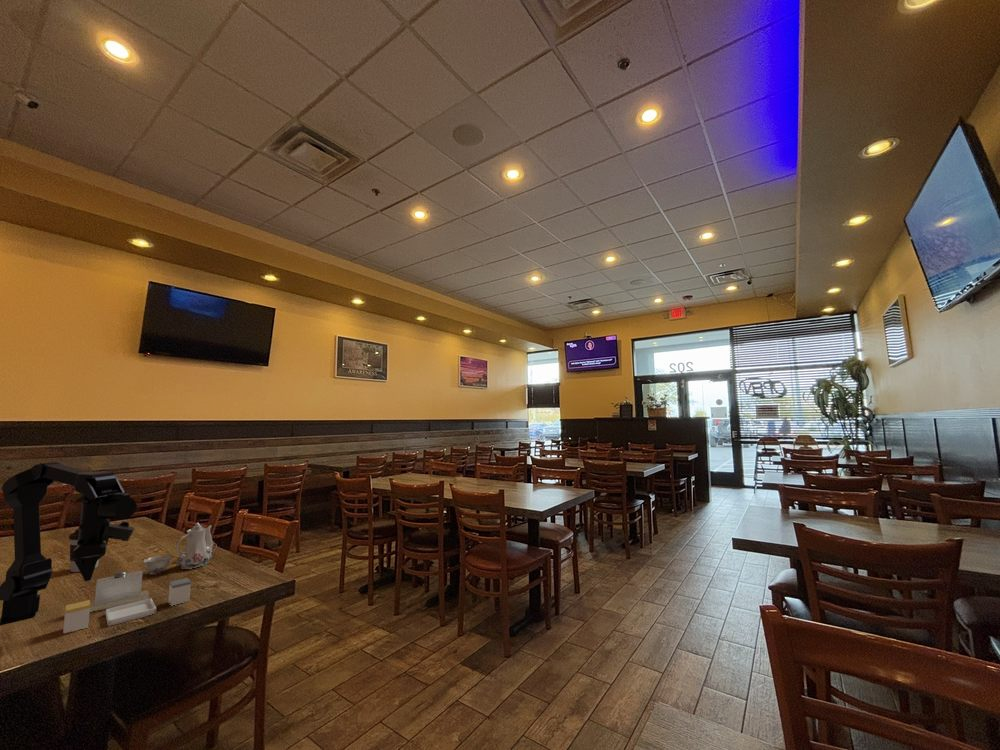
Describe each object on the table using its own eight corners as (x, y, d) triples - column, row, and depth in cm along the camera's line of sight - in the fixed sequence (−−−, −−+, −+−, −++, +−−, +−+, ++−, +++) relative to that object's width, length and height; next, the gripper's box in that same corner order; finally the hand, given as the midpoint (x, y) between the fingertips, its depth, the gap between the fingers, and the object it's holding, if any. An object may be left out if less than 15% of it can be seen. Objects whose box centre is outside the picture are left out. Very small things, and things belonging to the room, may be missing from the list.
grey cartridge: (170, 606, 121) (172, 585, 122) (168, 602, 124) (170, 581, 125) (189, 601, 125) (191, 581, 125) (186, 597, 128) (188, 577, 128)
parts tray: (108, 626, 109) (108, 620, 110) (105, 614, 116) (106, 609, 116) (156, 613, 117) (156, 608, 117) (151, 603, 124) (151, 598, 124)
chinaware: (199, 557, 171) (198, 516, 173) (235, 553, 169) (234, 513, 171) (132, 583, 143) (132, 534, 145) (176, 580, 141) (175, 530, 144)
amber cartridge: (63, 635, 105) (65, 610, 106) (63, 629, 108) (65, 605, 109) (87, 628, 109) (90, 604, 109) (87, 622, 112) (89, 599, 112)
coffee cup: (56, 574, 147) (61, 531, 149) (83, 564, 157) (88, 524, 159) (84, 573, 147) (89, 531, 149) (110, 564, 157) (114, 524, 159)
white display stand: (85, 613, 117) (88, 581, 118) (84, 609, 120) (87, 577, 121) (148, 598, 127) (151, 568, 128) (146, 594, 130) (149, 565, 131)
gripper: (132, 519, 113) (127, 577, 111) (133, 508, 127) (128, 561, 125) (75, 526, 106) (69, 589, 104) (82, 514, 120) (77, 570, 118)
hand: (89, 576), depth 113 cm, fingers open, 9 cm apart
